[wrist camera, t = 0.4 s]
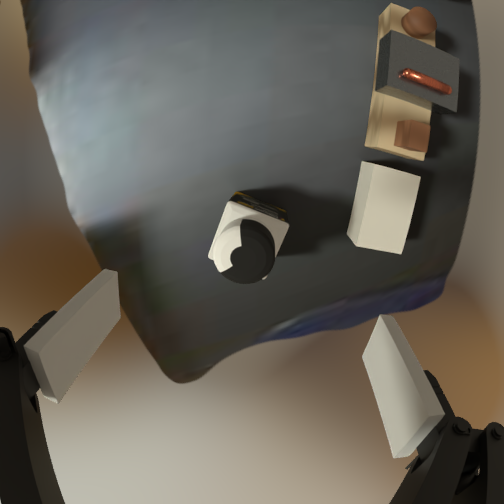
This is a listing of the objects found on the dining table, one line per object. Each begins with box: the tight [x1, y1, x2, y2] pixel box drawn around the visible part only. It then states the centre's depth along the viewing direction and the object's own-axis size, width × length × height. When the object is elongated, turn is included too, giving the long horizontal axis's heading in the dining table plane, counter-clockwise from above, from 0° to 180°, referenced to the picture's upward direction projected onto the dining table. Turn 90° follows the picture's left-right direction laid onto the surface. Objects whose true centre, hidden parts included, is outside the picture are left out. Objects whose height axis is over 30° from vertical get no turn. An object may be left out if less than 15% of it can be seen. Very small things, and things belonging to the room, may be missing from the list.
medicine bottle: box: [208, 192, 289, 284], centre depth 34 cm, size 7×7×12 cm
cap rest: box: [347, 161, 421, 254], centre depth 35 cm, size 10×6×5 cm, turn 172°
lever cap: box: [375, 29, 459, 114], centre depth 24 cm, size 7×9×5 cm
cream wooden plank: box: [365, 3, 437, 161], centre depth 27 cm, size 20×6×9 cm, turn 172°
